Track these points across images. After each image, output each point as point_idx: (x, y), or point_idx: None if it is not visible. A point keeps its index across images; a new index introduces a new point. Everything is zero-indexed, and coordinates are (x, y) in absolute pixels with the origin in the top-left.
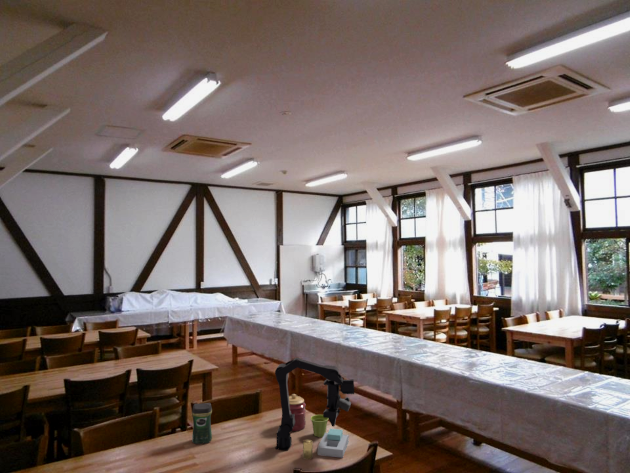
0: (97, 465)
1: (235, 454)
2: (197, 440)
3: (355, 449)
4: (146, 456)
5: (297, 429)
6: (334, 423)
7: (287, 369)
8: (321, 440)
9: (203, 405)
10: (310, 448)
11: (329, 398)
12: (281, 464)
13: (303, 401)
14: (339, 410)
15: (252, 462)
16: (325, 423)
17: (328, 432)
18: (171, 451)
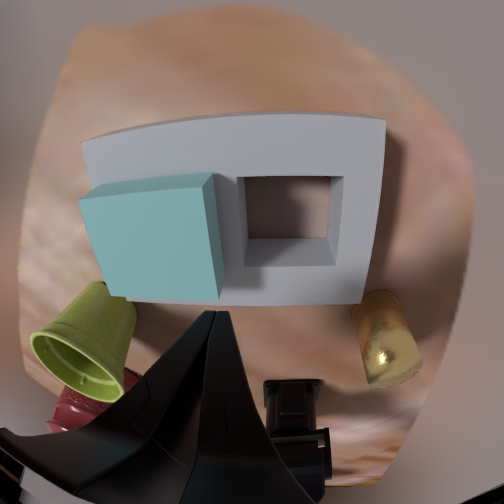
0: (377, 476)
1: (352, 437)
2: None
3: (203, 48)
4: (356, 473)
5: (134, 379)
6: (236, 345)
7: None
8: (249, 303)
9: None
10: (410, 333)
11: None
12: (425, 361)
13: None
14: (24, 464)
15: (399, 409)
16: (80, 331)
17: (179, 297)
18: (339, 470)
